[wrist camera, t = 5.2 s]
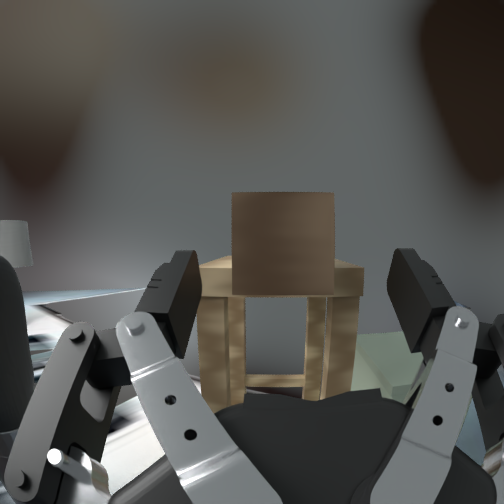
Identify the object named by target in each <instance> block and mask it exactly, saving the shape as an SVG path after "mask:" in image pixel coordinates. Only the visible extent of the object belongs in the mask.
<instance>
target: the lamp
mask: <svg viewBox="0 0 504 504" xmlns="http://www.w3.org/2000/svg"><path fill="white" fill-rule="evenodd" d="M0 255H1V256H3V257H4V258H5V259H6V260H7V261H8V262H9V263H10V264H11V265H12V267H13V268H14V267H24V266H31V265H33V261H32V254H31V248H30V241H29V233H28V225H27V222H26V221H17V220H0Z"/></svg>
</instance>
